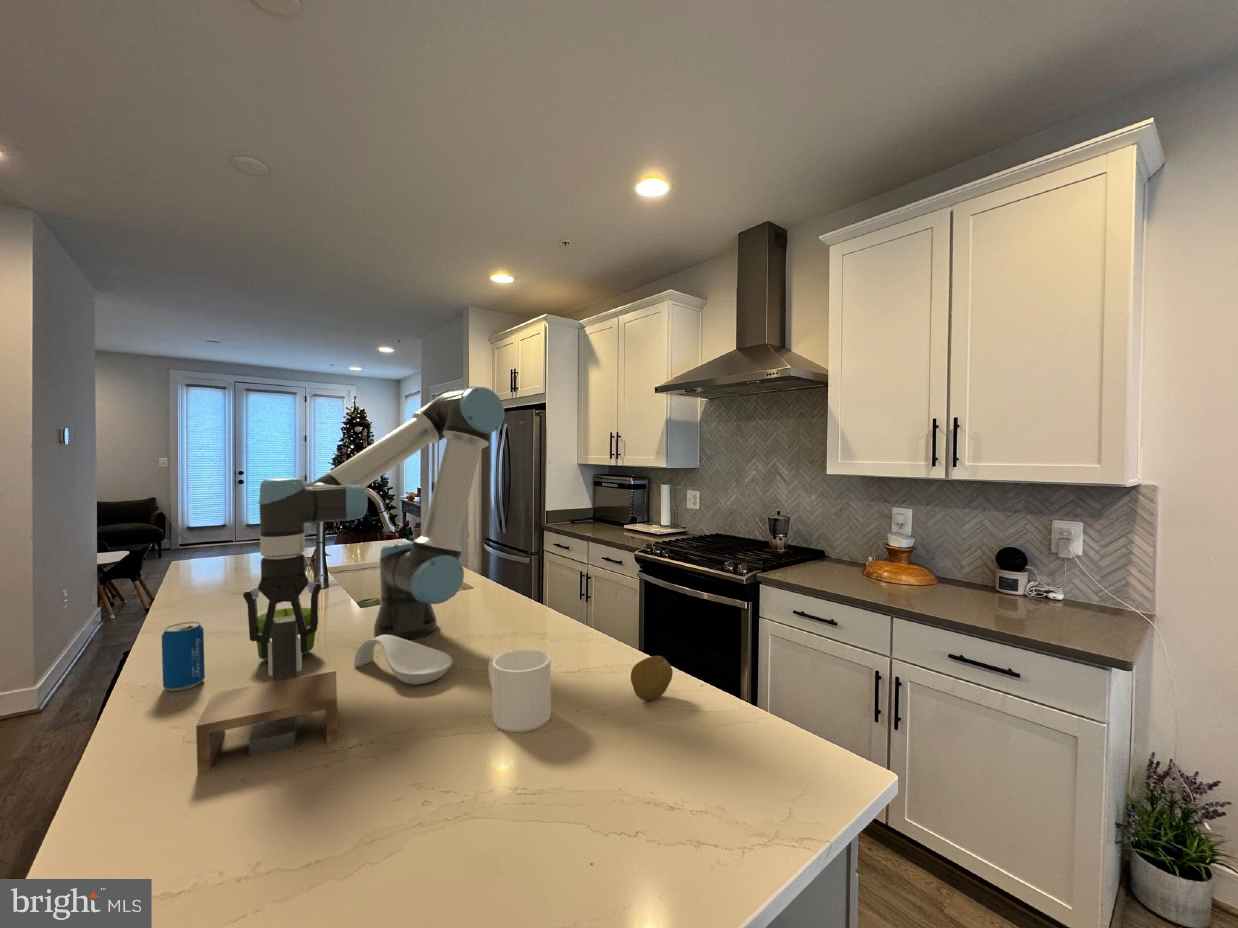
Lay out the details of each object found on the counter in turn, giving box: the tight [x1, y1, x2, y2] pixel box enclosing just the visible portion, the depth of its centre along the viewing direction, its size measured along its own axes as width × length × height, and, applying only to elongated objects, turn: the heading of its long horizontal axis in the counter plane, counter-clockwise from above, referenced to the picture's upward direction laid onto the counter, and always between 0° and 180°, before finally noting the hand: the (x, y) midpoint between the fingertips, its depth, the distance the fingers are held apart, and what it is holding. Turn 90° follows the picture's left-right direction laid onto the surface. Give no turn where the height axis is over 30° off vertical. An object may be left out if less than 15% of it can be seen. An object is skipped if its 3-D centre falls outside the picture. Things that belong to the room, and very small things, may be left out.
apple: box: [255, 607, 319, 662], centre depth 121 cm, size 12×12×11 cm
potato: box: [630, 655, 674, 702], centre depth 100 cm, size 7×8×8 cm
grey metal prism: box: [268, 616, 300, 683], centre depth 100 cm, size 5×20×12 cm, turn 28°
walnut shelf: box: [195, 670, 338, 774], centre depth 87 cm, size 18×12×7 cm, turn 118°
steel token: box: [248, 715, 298, 756], centre depth 86 cm, size 6×6×2 cm
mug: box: [487, 648, 552, 733], centre depth 94 cm, size 13×10×10 cm
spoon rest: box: [353, 635, 453, 686], centre depth 112 cm, size 24×12×7 cm, turn 65°
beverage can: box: [161, 621, 206, 692], centre depth 106 cm, size 6×6×12 cm
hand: (285, 670), depth 107 cm, fingers closed on grey metal prism, 4 cm apart
